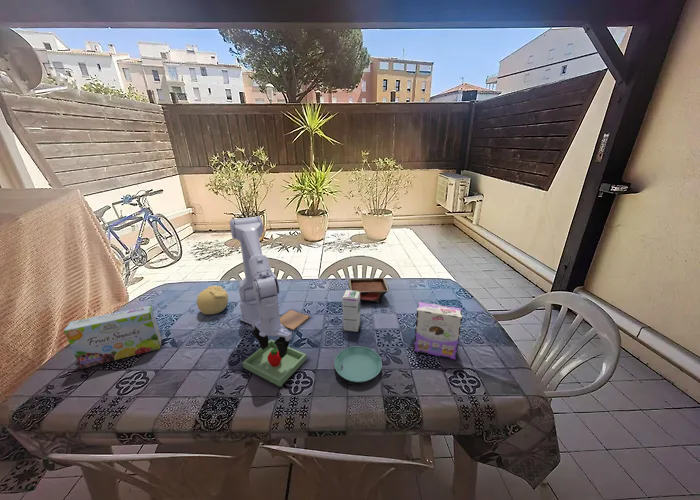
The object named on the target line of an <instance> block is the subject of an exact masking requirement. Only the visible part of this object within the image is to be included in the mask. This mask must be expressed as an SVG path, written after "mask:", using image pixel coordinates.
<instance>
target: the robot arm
mask: <svg viewBox="0 0 700 500" xmlns="http://www.w3.org/2000/svg"><path fill="white" fill-rule="evenodd" d="M229 228H230V233H231V238H232V239H233V240H237V241H239V244H240V251H241V256H242V257H241V258H242V262H243V270H244V278H243V279H242V280H240V281H239V283H238V292H239V298H240V303H239V305H240V306H239V307H240V314H241V318H240V321H241V322H244V323H247V324H249V325H250V326H251V327H252V328H253V330H252V331H251V335H252V336H253V337H254V338H255V339H256V340H257V342H258V345H259V346H260V348H262V349H263V350H264V349H265V348H266V347H268V341H269V336H270V337H278V338H277V339H276V340H274V341H275V342H274V343H275V344H276V346H277V348H278V351H279V356H280V358H283V357H284V356H285V355H286V353H287V348H288V347H289V344H290V342H291V340H292V339H293V333H292V331H290V330H288V328H286V327H284V326H283V325H282V324H281V323H280V317H281V314H280V307H279V297H278V296H279V294H280V284H279V280H278V277H277V275H276V274H275V272H274V271H273V270H272V267H271V264H270V261H269V258H268V257H267V255H264V254H263V251H262V245H261V240H260V238H261V237H262V236H263V233H264V223H263V220H262V217H260V216H259V215H257V216H251V217H250V216H249V217H241V218H230V220H229Z"/></svg>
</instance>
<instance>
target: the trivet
mask: <svg viewBox="0 0 700 500" xmlns="http://www.w3.org/2000/svg"><path fill="white" fill-rule="evenodd" d="M309 319H311V318H310V315H309V314H308V315H307V314H305V313H302V312H299V311H295V310H293V309H290V310H287V312H285V313H284V314H282V315H280V323H281V324H282V325H283V326H284V327H285V328H286V329H289V330H292V331H295V330H296V329H297V328H298V327H300V326H302V325H303V324H304V323H305V322H307V321H308V320H309Z"/></svg>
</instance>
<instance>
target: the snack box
mask: <svg viewBox="0 0 700 500" xmlns="http://www.w3.org/2000/svg"><path fill="white" fill-rule="evenodd" d="M63 333H64V335H65V338H66V339H67V342H68V344H69V346H70V348H71V350H72V353H73V355H74V358H75V360H76V362H77V364H78V366H79V369H80V370H83V369H86V368H90V367H95V366H98V365H103V364H107V363H111V362H114V361H118V360H121V359H126V358H130V357H133V356H137V355H143V354H144V353H149V352H152V351H157V350H160V349H161V348H162V342H163V339H162V336H161V332H160V329H159V325H158V322H157V319H156V315H155V312H154V309H153V306H152V305H146V306H141V307H137V308H132V309H126V310H121V311H116V312H112V313H106V314H102V315H97V316H92V317H87V318H81V319H78V320H72V321H69V322H68V323H67V325H66V326H65V328H64V329H63Z"/></svg>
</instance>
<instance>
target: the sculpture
mask: <svg viewBox="0 0 700 500" xmlns="http://www.w3.org/2000/svg"><path fill="white" fill-rule="evenodd" d="M228 304H229V294H228V291H226V290H225V289H224V288H223V287H222V286H221V285H209V286H208V287H207V288H205V289H202V291H200V292H199V293H198V296H197V298H196V305H197V309H198V311H200V313H202V314H203V315H208V316H209V315H215V314H219V313H220V314H221V312H223V311H224V310H225V309H226V308H227V306H228Z"/></svg>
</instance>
